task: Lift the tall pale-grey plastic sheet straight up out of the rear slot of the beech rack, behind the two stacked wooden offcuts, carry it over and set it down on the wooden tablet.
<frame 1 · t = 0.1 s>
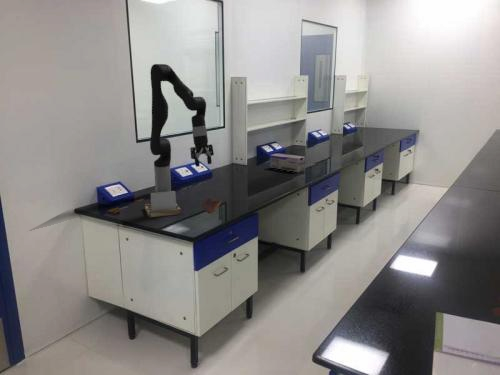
hand: (203, 165, 228), 22 cm above the worktop, tool pointing down, fingers open, 8 cm apart
pvc sheet: (164, 213, 214), point 1 cm above the worktop, touching rack
surgical sutures box: (287, 169, 326), on the worktop
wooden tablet: (209, 207, 231), on the worktop
decorative fence: (129, 208, 229), on the worktop
offcut upper: (163, 204, 221), point 4 cm above the worktop, touching offcut lower
rack: (163, 214, 217), on the worktop
offcut lower: (161, 209, 221), point 1 cm above the worktop, touching offcut upper, rack
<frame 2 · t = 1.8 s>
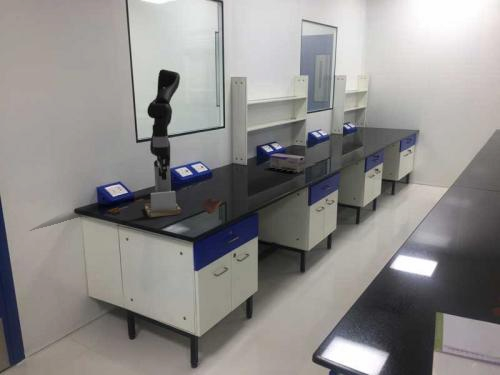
hand: (162, 177, 210), 20 cm above the worktop, tool pointing down, fingers open, 8 cm apart
nothing on the worktop moved.
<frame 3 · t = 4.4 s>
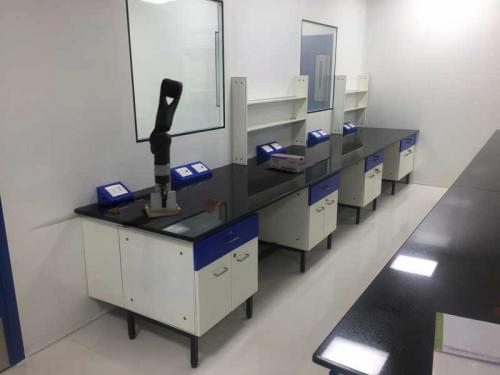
hand: (163, 206, 213), 5 cm above the worktop, tool pointing down, fingers closed on pvc sheet, 2 cm apart
pvc sheet: (164, 213, 214), point 2 cm above the worktop, touching gripper
everything else where it was.
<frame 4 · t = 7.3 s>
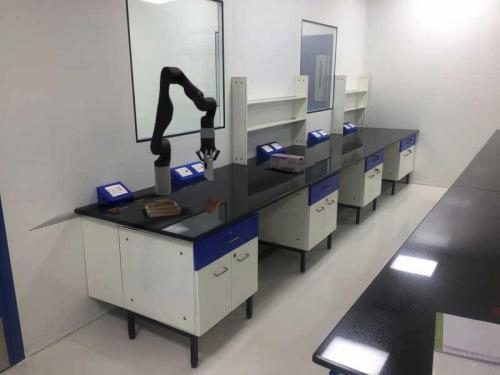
hand: (208, 168, 226), 21 cm above the worktop, tool pointing down, fingers closed on pvc sheet
pvc sheet: (208, 178, 227), point 16 cm above the worktop, touching gripper
everything else where it was.
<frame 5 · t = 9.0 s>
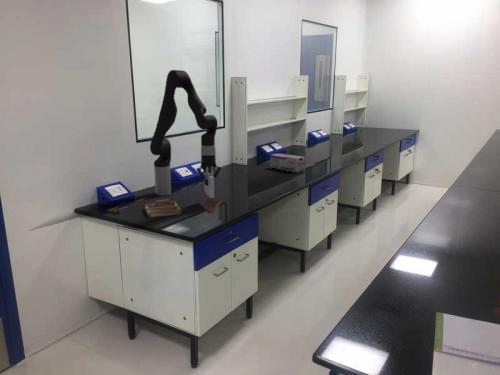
hand: (209, 185, 228), 12 cm above the worktop, tool pointing down, fingers closed on pvc sheet
pvc sheet: (209, 194, 230), point 7 cm above the worktop, touching gripper
everything else where it was.
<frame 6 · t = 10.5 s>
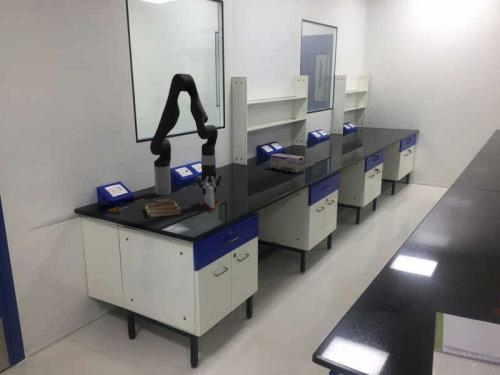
hand: (209, 194, 229), 7 cm above the worktop, tool pointing down, fingers open, 4 cm apart
pvc sheet: (209, 205, 231), point 1 cm above the worktop
everything else where it was.
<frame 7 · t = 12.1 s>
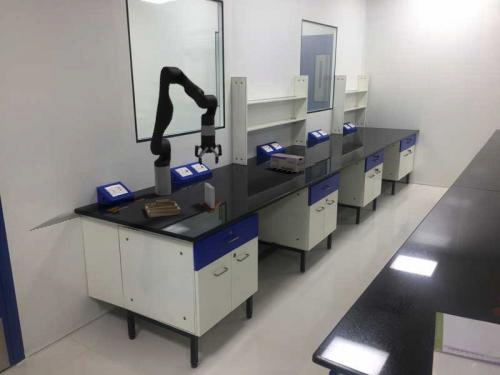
hand: (208, 164, 225), 23 cm above the worktop, tool pointing down, fingers open, 8 cm apart
pvc sheet: (209, 205, 231), point 1 cm above the worktop, touching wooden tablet
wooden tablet: (209, 208, 232), on the worktop, touching pvc sheet
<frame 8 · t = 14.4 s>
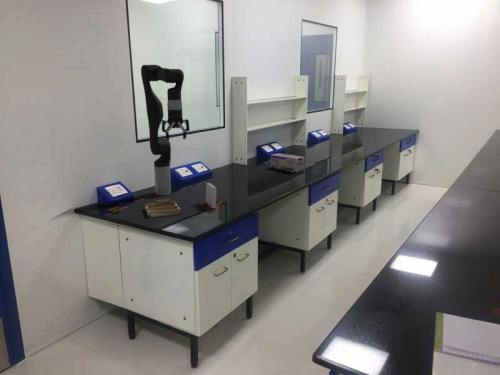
hand: (176, 139, 225), 36 cm above the worktop, tool pointing down, fingers open, 8 cm apart
at the end: pvc sheet inside the target area (0.7 cm from its centre), point 0.8 cm above the worktop; pvc sheet touching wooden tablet; the gripper is holding nothing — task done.
